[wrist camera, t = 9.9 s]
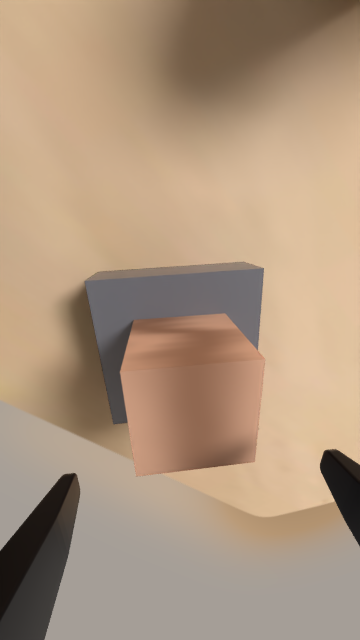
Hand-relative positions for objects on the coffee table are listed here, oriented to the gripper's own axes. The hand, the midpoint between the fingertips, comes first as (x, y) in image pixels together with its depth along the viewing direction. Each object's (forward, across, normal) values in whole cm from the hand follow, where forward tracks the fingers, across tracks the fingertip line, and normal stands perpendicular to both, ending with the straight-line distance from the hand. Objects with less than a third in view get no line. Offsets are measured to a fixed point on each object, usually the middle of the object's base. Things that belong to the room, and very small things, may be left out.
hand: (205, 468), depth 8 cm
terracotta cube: (+8, 0, 0) cm, 8 cm away
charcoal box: (+12, 0, 0) cm, 12 cm away
